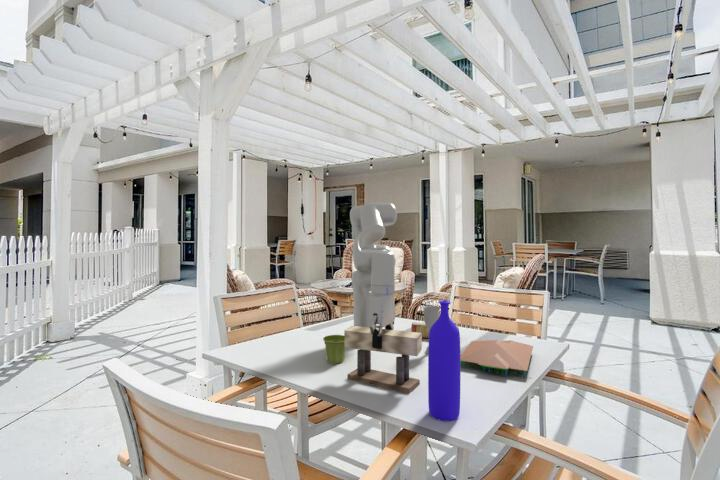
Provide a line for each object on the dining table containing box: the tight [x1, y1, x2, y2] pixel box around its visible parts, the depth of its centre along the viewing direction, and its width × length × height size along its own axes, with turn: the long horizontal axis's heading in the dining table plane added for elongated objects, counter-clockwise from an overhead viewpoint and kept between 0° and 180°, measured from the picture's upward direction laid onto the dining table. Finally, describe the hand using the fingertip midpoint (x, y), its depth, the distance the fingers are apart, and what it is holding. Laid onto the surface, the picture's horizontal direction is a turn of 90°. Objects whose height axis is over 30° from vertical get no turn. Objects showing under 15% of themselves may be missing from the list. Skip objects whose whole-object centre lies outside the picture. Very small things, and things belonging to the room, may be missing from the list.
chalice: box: [422, 305, 441, 355], centre depth 151 cm, size 7×7×18 cm
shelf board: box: [343, 325, 423, 357], centre depth 122 cm, size 24×6×6 cm, turn 68°
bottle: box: [427, 299, 461, 422], centre depth 100 cm, size 8×8×30 cm
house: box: [460, 339, 534, 379], centre depth 141 cm, size 23×33×8 cm
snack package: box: [410, 321, 460, 339], centre depth 172 cm, size 21×7×7 cm, turn 74°
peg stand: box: [347, 349, 421, 394], centre depth 122 cm, size 22×8×10 cm, turn 59°
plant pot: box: [322, 334, 347, 365], centre depth 141 cm, size 9×9×9 cm
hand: (382, 344), depth 122 cm, fingers closed on shelf board, 7 cm apart
